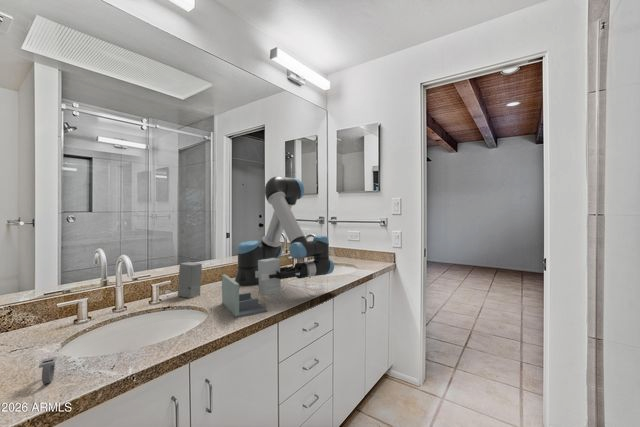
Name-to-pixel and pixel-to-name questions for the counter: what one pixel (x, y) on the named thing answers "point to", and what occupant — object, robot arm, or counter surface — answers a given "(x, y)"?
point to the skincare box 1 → (189, 279)
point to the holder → (238, 299)
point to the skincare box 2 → (269, 267)
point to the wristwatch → (48, 369)
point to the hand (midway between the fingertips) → (258, 275)
